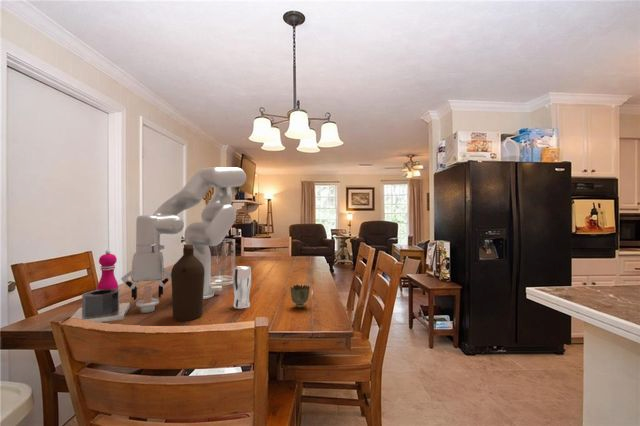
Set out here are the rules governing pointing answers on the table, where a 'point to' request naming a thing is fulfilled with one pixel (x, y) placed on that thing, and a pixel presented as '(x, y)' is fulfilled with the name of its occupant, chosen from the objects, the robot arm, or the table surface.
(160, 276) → the robot arm
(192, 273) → the olive oil
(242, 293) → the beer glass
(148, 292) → the beige blocky piece
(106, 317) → the grey tub on base
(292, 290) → the cup
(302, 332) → the table surface
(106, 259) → the pepper mill
